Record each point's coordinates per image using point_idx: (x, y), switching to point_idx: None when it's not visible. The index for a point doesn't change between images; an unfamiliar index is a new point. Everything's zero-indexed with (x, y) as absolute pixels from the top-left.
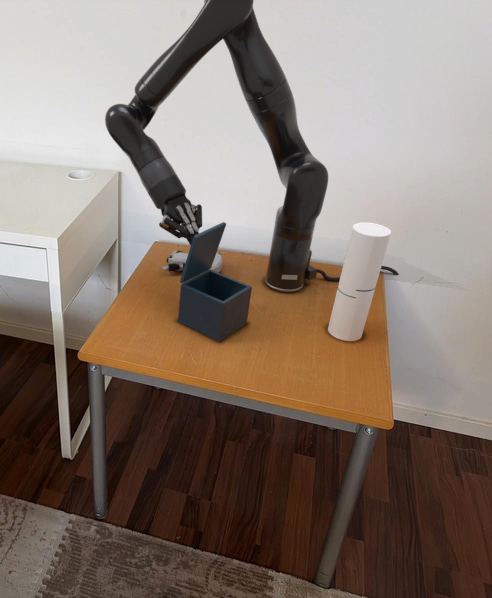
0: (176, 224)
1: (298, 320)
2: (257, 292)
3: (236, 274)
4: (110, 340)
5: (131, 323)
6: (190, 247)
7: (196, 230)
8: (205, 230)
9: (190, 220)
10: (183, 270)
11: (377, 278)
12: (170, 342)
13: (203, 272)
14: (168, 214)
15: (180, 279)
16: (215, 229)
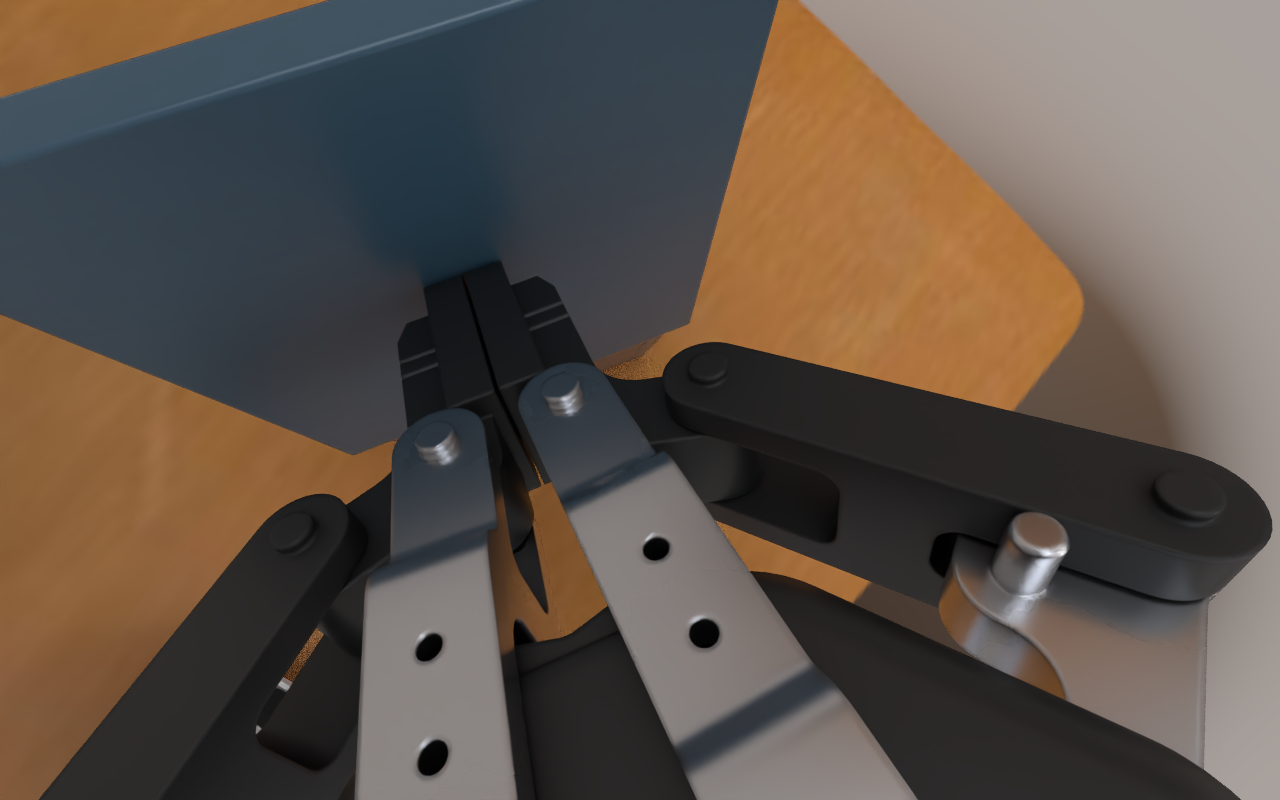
0: (906, 443)
1: None
2: (60, 450)
3: (36, 695)
4: (986, 335)
5: None
6: (750, 98)
7: (455, 419)
8: (469, 18)
9: (501, 569)
10: (702, 272)
11: None
12: (756, 217)
13: (280, 691)
14: (1129, 732)
15: (691, 314)
16: (212, 52)
